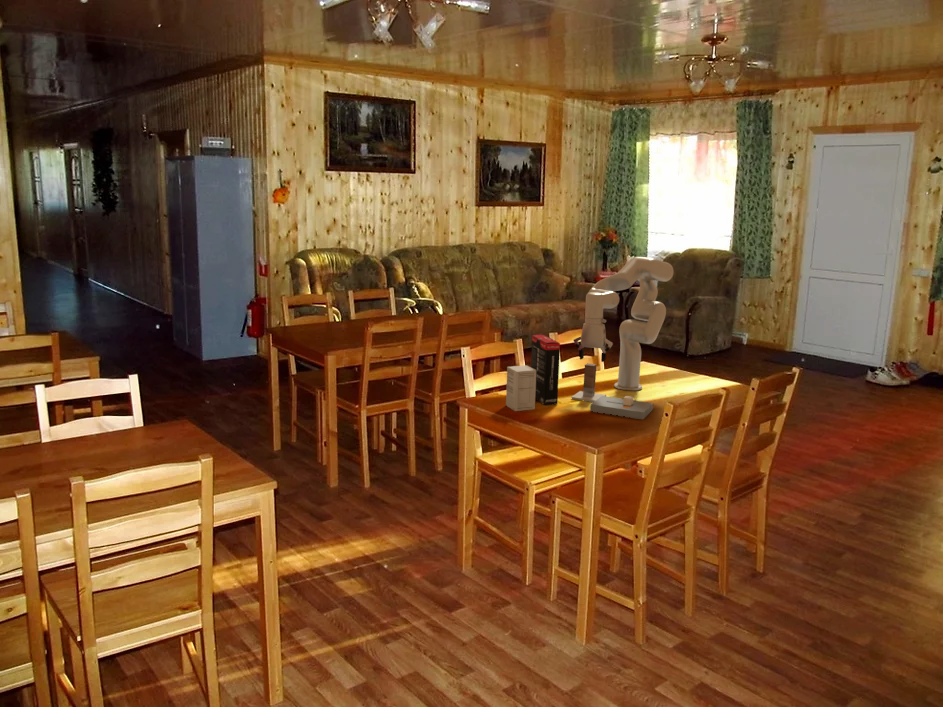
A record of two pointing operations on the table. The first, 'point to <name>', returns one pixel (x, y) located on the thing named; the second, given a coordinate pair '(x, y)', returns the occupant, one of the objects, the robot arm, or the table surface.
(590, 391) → the block
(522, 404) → the supplement box
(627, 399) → the switch tab
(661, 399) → the table surface
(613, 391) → the table surface
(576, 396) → the mat
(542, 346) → the graphics card box
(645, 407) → the switch board
